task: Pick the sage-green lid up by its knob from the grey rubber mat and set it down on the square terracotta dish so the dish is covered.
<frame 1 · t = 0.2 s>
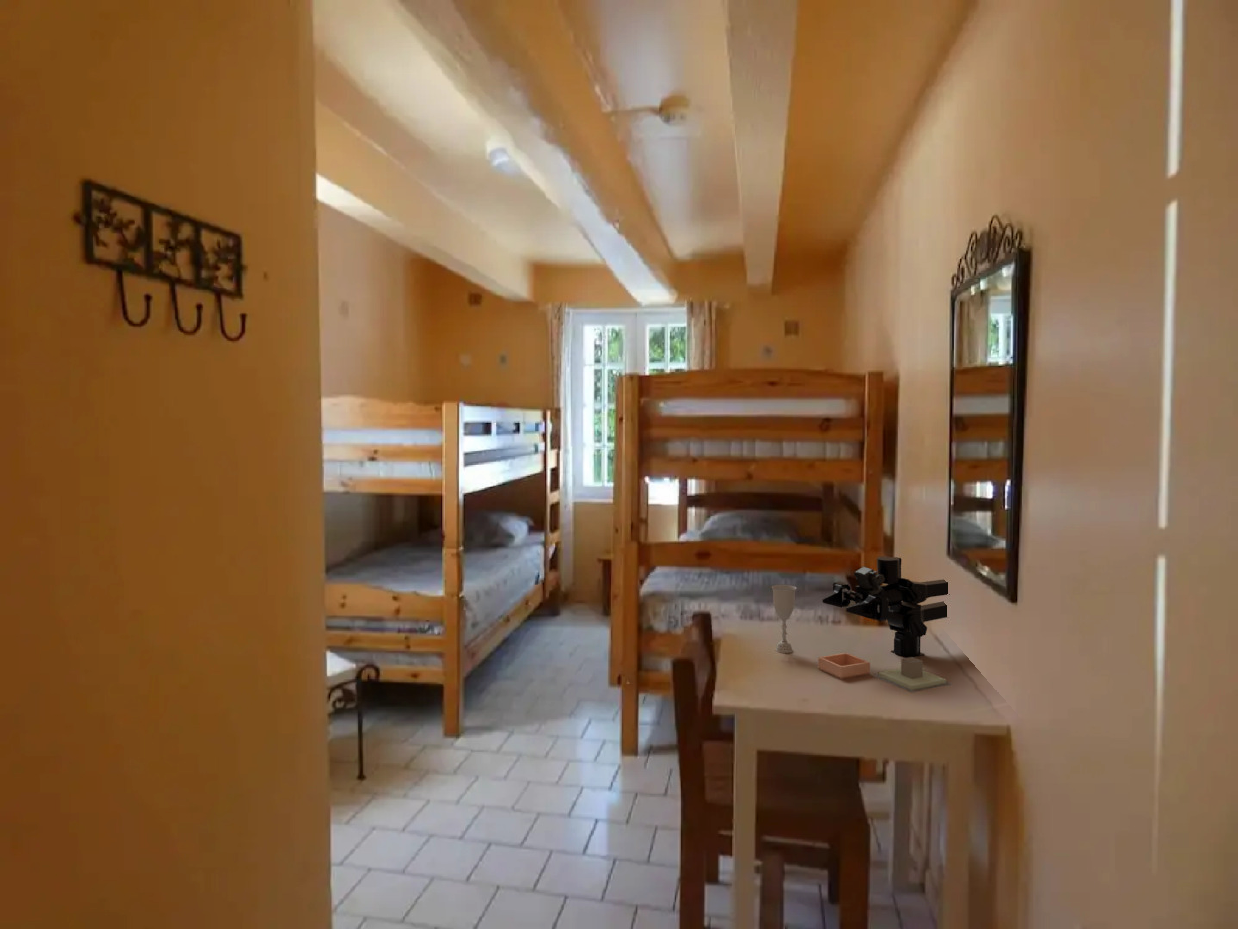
hand: (834, 605, 198), 17 cm above the table, tool horizontal, fingers open, 9 cm apart
mat: (911, 681, 188), on the table
chalice: (784, 651, 215), on the table
dish: (843, 673, 194), on the table
lid: (911, 679, 188), resting on mat
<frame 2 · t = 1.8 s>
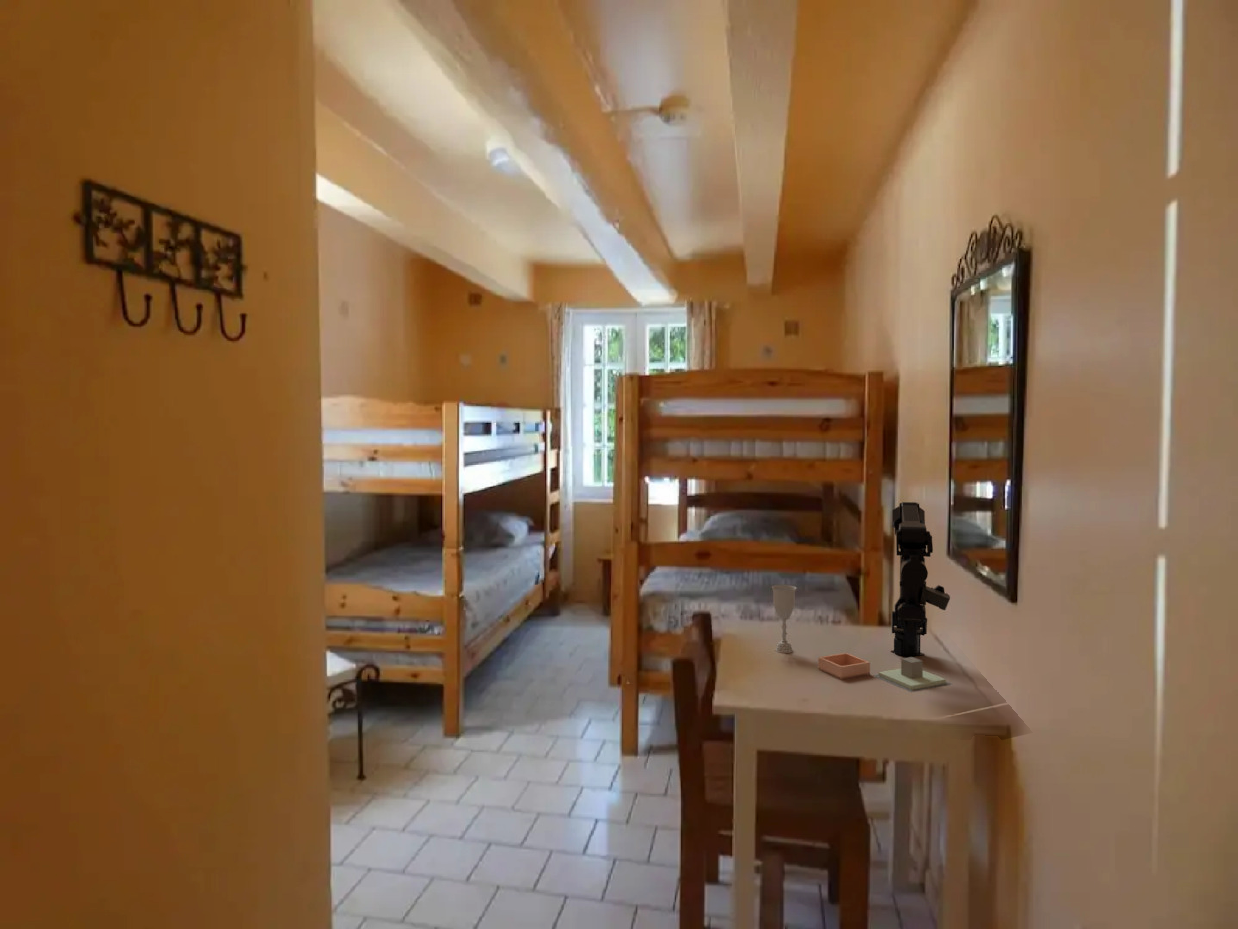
hand: (911, 639, 187), 10 cm above the table, tool pointing down, fingers open, 9 cm apart
nothing on the table moved.
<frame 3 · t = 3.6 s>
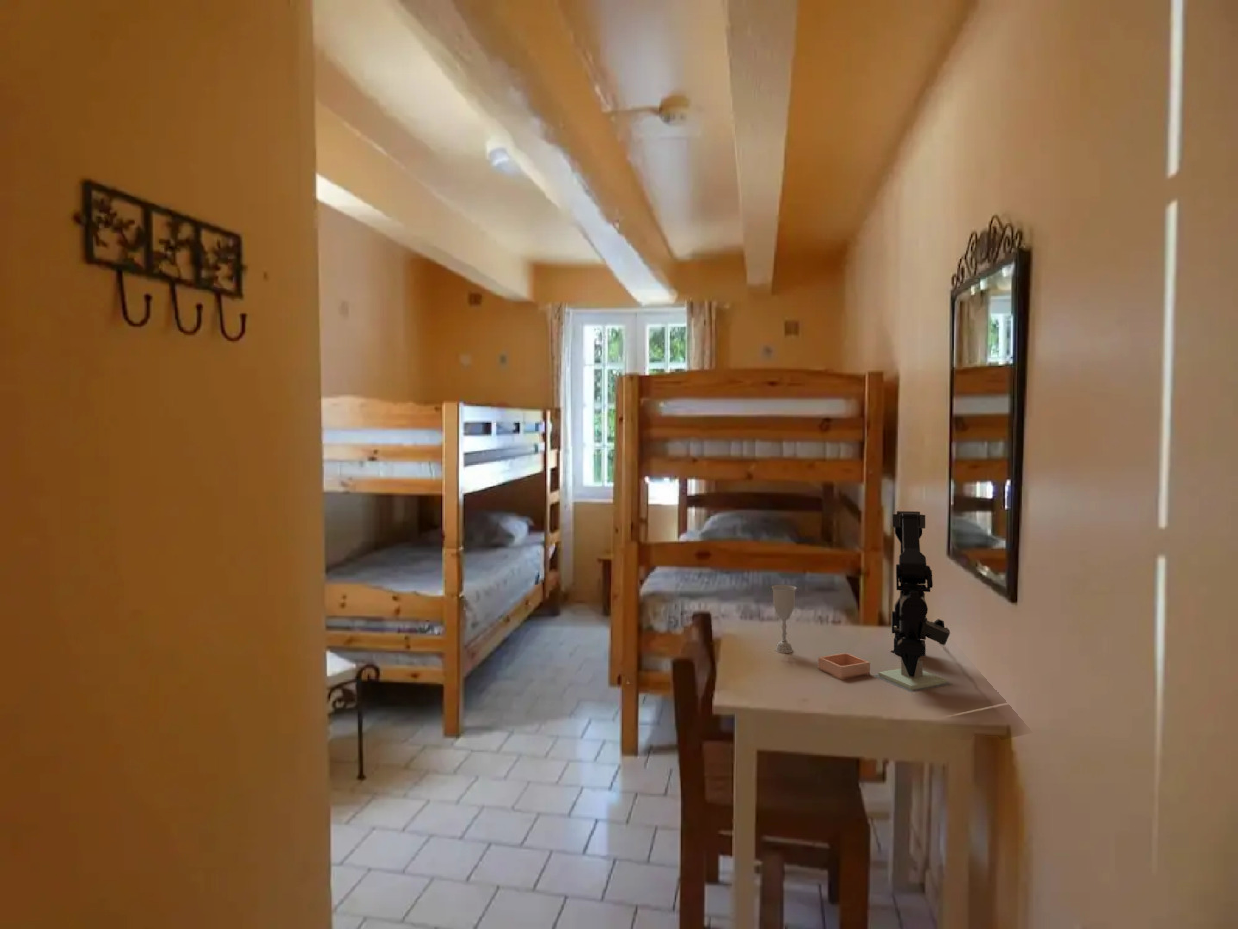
hand: (911, 673, 188), 2 cm above the table, tool pointing down, fingers closed on lid, 5 cm apart
lid: (911, 679, 188), resting on mat, touching gripper
everything else where it was.
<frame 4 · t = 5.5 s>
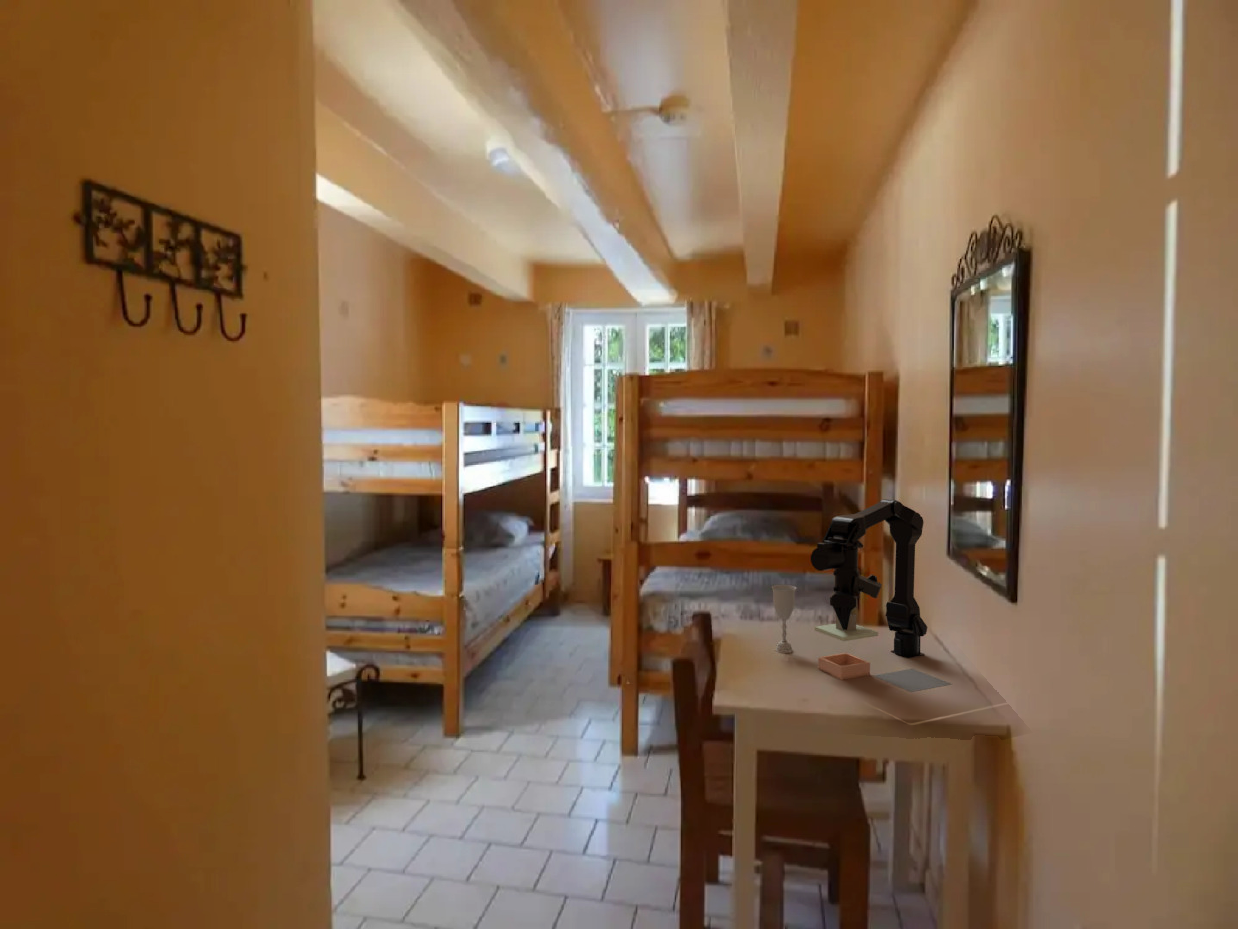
hand: (845, 627, 194), 12 cm above the table, tool pointing down, fingers closed on lid, 5 cm apart
lid: (845, 633, 194), point 10 cm above the table, touching gripper
everything else where it was.
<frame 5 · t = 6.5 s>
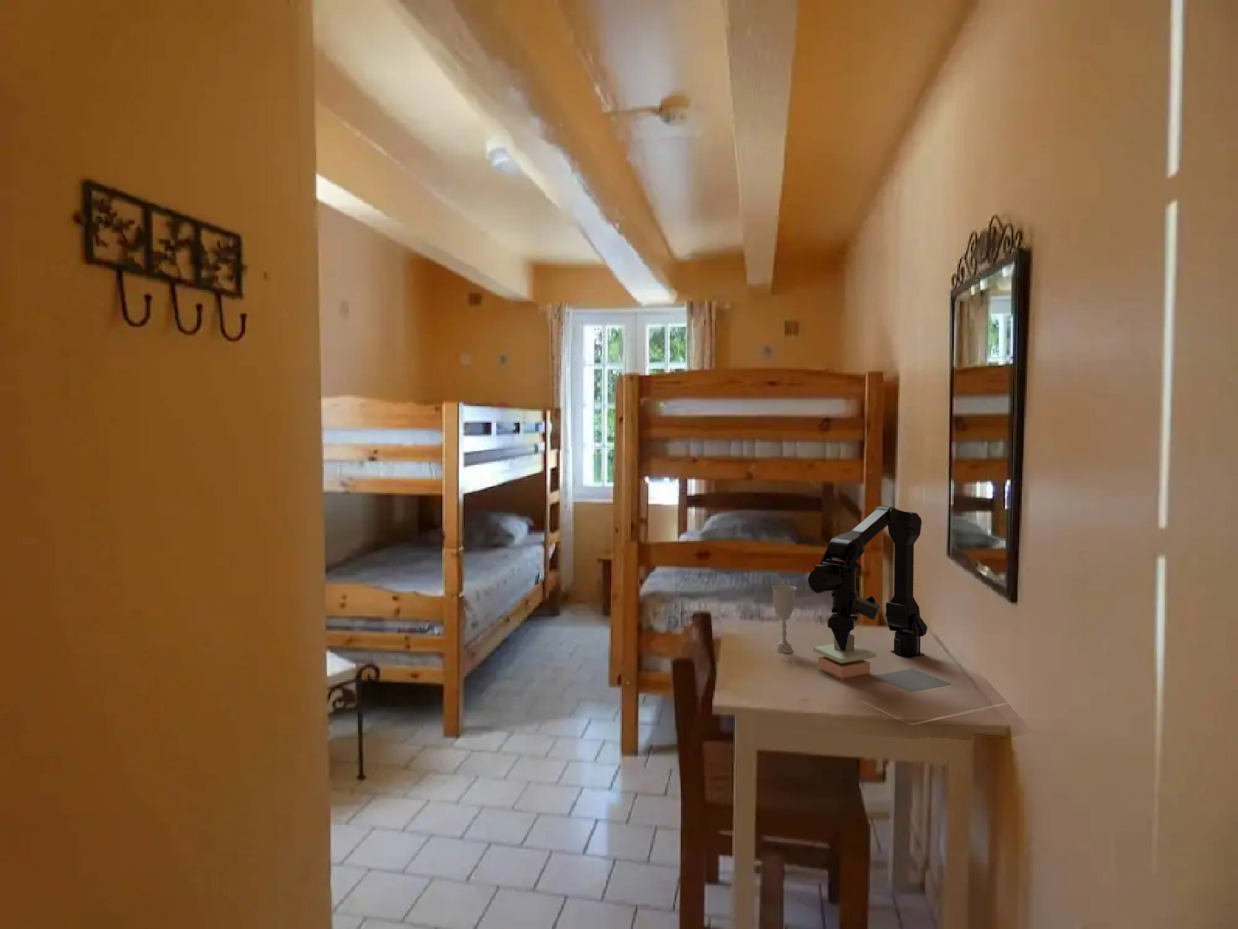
hand: (844, 648, 194), 7 cm above the table, tool pointing down, fingers closed on lid, 5 cm apart
lid: (844, 654, 194), point 5 cm above the table, touching gripper
everything else where it was.
when the fingers open (6 cm above the table, at t = 7.3 s): lid drops 1 cm, resting on dish.
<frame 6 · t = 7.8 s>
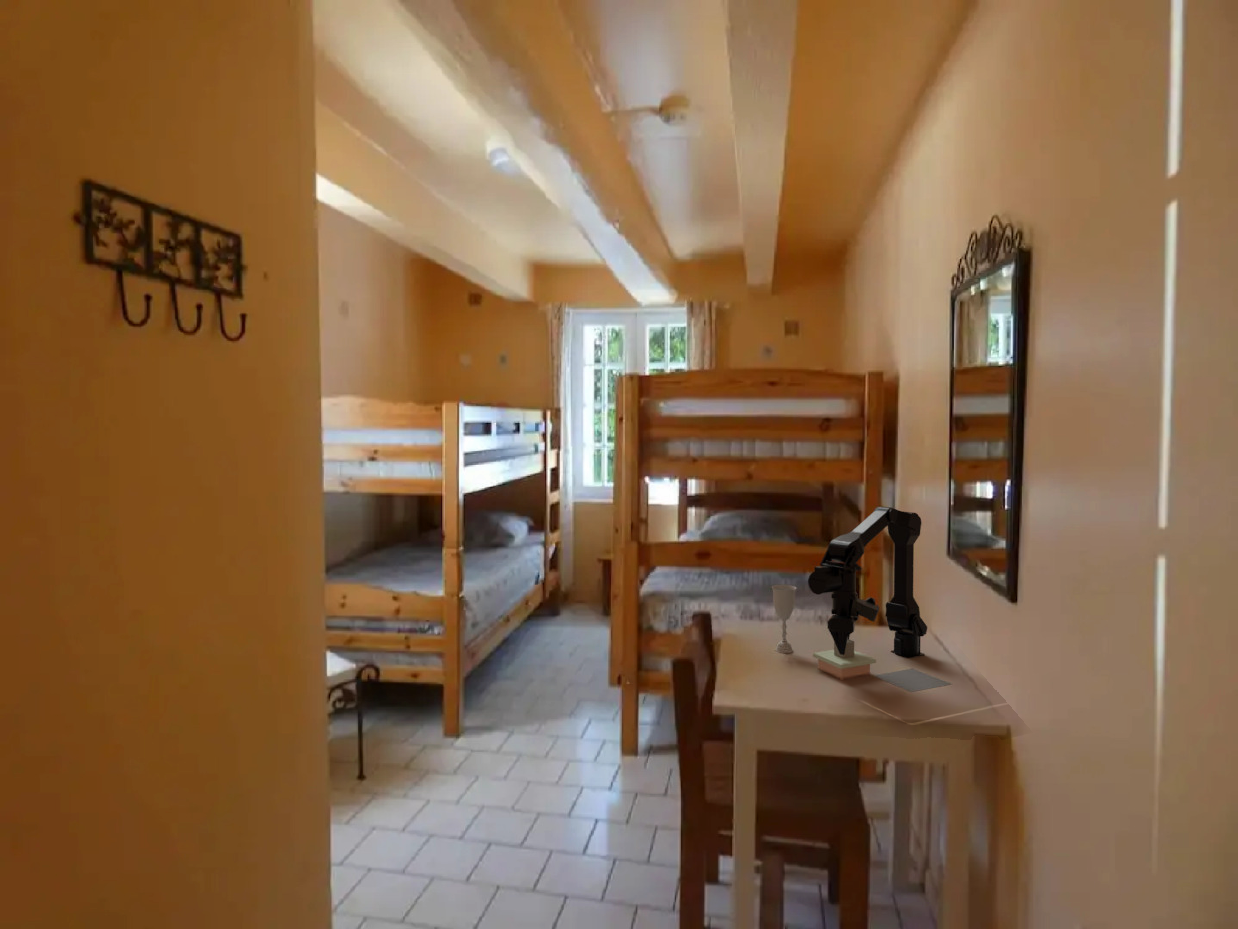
hand: (844, 649, 194), 6 cm above the table, tool pointing down, fingers open, 9 cm apart
lid: (844, 659, 194), point 3 cm above the table, touching dish
everything else where it was.
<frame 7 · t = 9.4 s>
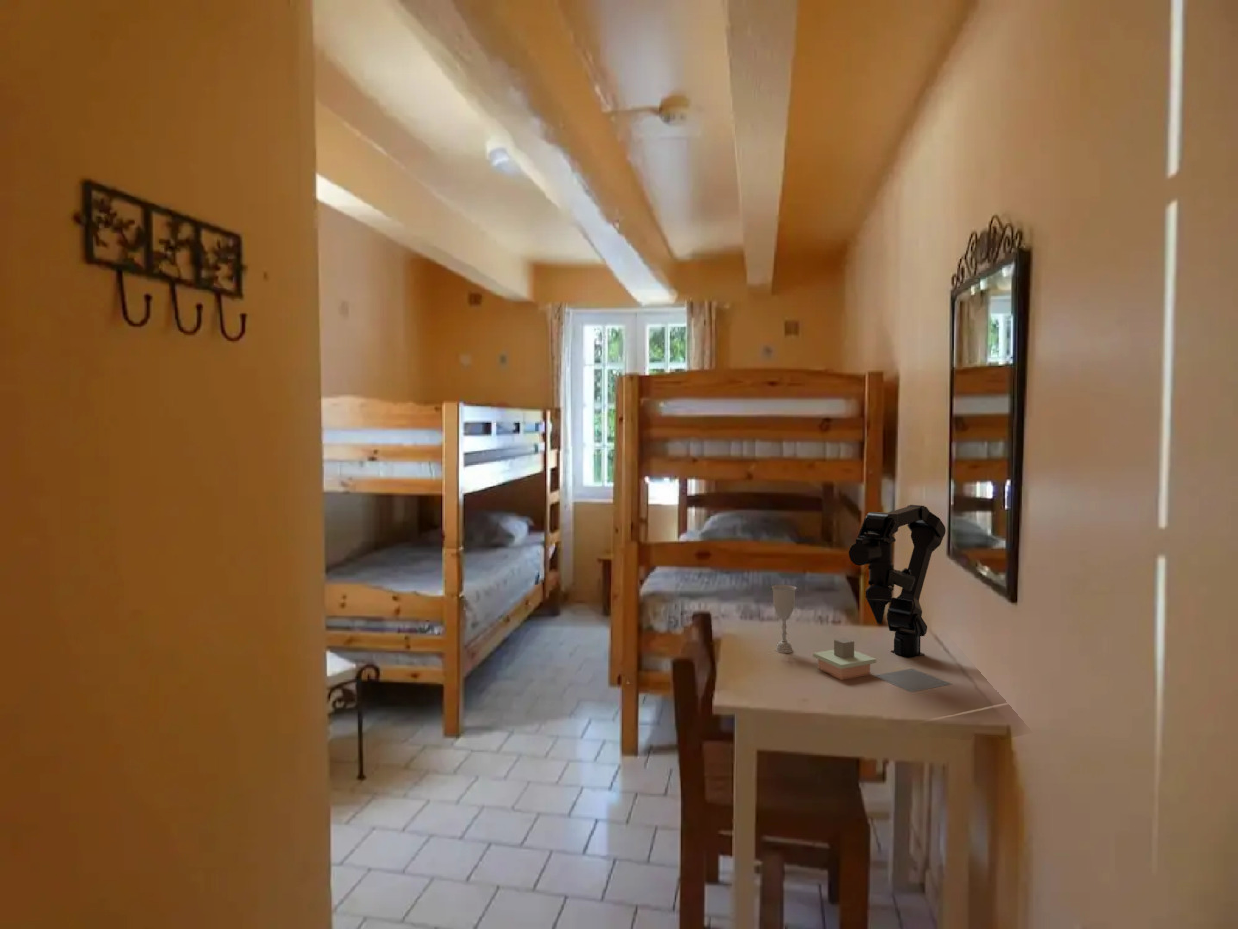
hand: (880, 619, 200), 12 cm above the table, tool pointing down, fingers open, 9 cm apart
nothing on the table moved.
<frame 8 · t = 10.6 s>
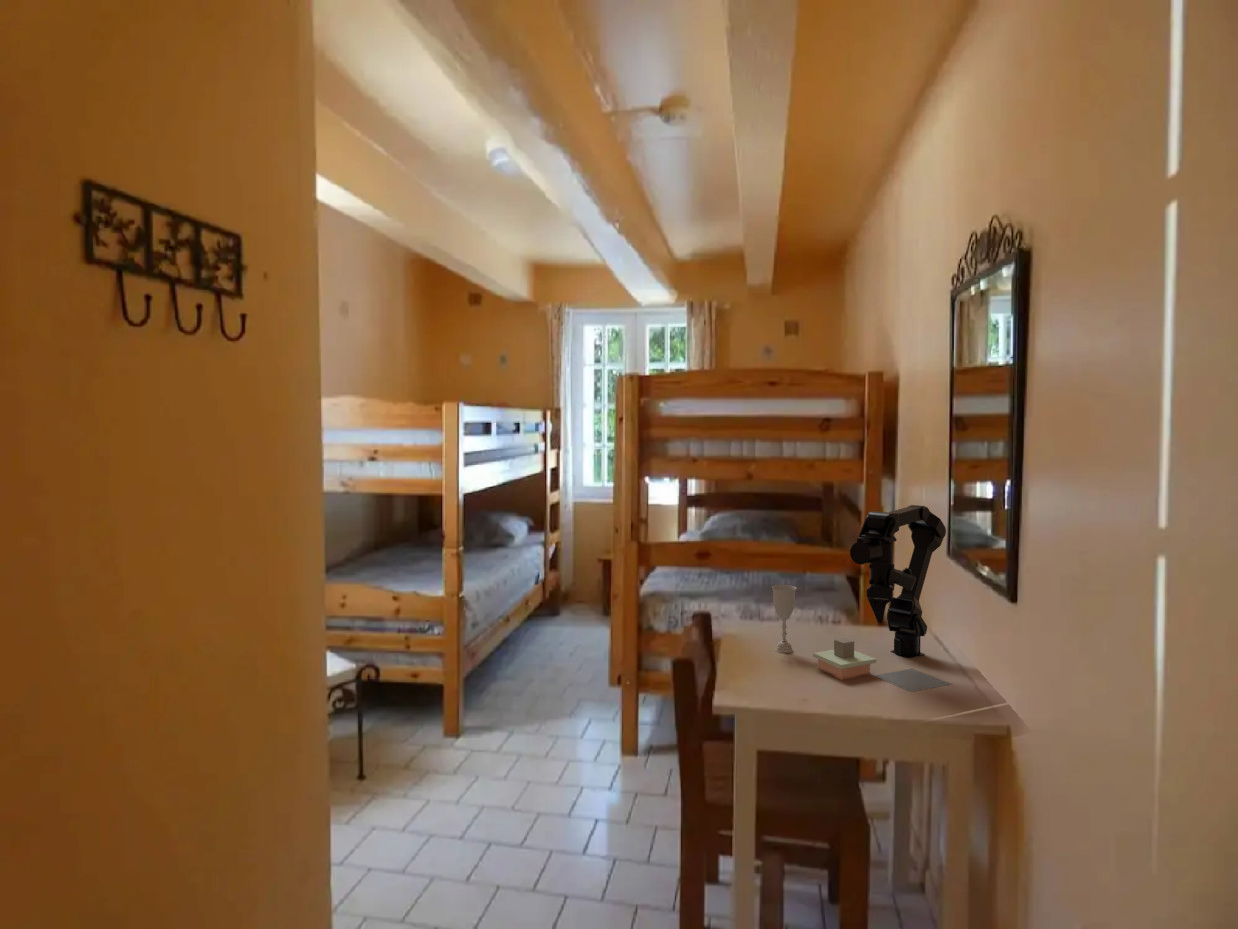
hand: (881, 618, 200), 13 cm above the table, tool pointing down, fingers open, 9 cm apart
nothing on the table moved.
at the end: lid 0.1 cm off-centre on the dish, point 3.5 cm above the dish's base; lid tilted 0°; the gripper is holding nothing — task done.
